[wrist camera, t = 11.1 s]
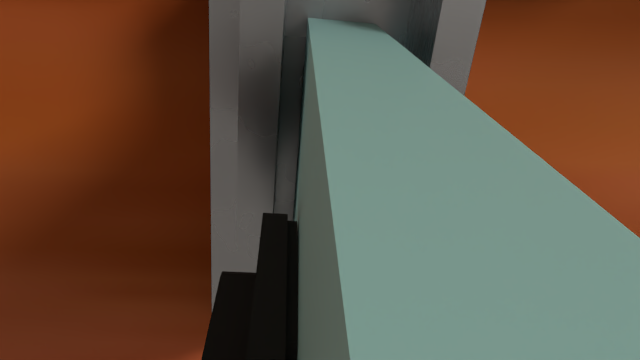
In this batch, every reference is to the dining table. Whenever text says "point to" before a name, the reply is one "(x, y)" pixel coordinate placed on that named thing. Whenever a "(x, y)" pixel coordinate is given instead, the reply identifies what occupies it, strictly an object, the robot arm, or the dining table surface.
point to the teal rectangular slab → (442, 224)
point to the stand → (295, 98)
